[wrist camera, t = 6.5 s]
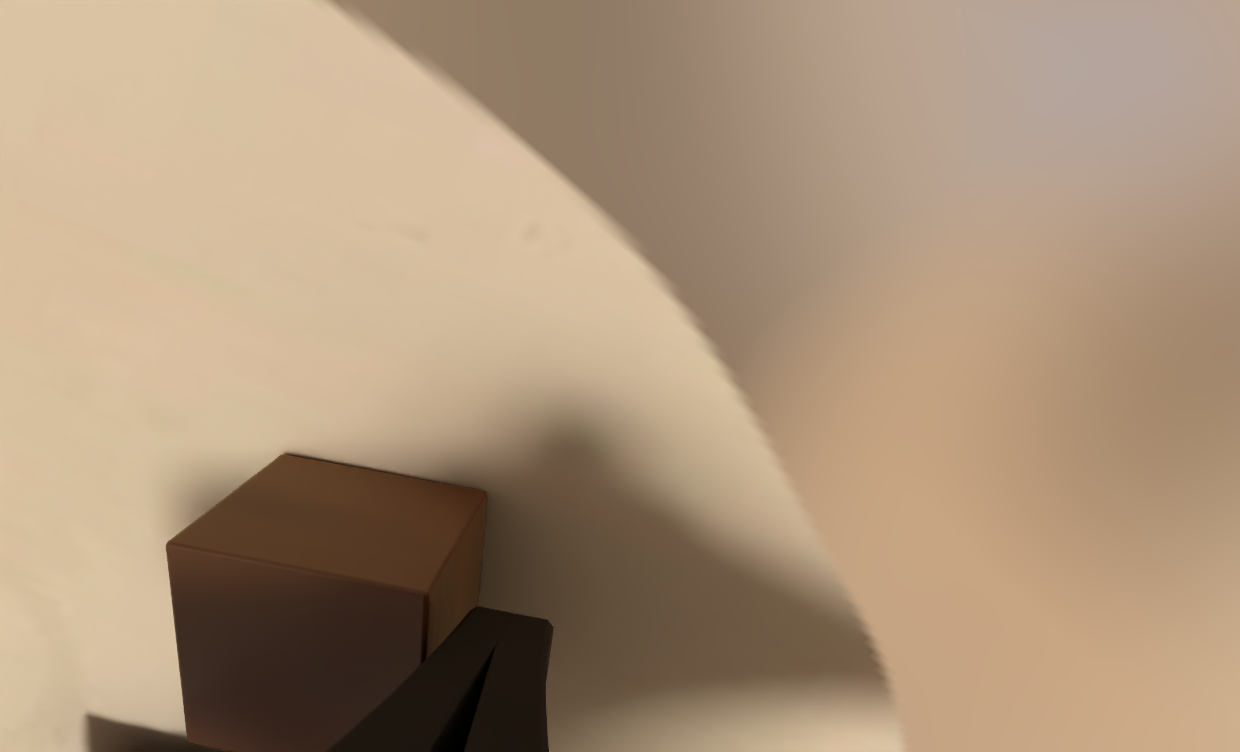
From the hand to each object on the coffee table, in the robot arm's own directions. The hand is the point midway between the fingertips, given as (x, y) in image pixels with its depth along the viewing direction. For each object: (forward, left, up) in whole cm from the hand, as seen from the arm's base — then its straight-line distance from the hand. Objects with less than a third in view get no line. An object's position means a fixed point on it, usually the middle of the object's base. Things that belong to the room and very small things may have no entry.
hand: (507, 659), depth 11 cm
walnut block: (0, +3, -2) cm, 4 cm away
